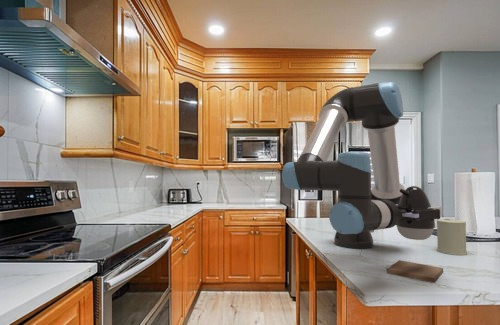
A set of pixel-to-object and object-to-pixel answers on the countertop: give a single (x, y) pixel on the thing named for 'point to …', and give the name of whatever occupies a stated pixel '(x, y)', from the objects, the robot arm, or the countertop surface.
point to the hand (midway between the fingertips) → (421, 209)
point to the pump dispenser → (410, 228)
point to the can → (451, 236)
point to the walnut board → (415, 271)
